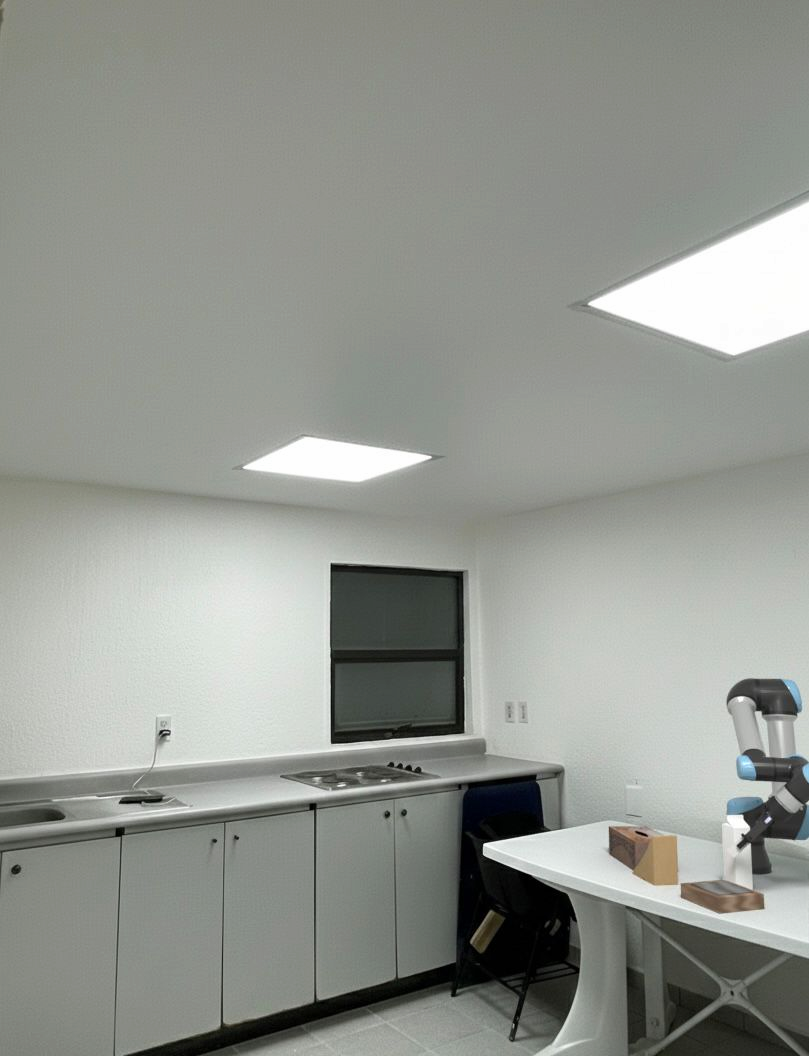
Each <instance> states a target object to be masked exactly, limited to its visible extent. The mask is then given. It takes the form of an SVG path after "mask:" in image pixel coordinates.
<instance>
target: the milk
mask: <svg viewBox="0 0 809 1056" xmlns="http://www.w3.org/2000/svg"><path fill="white" fill-rule="evenodd" d="M726 819H727V820H725V821H724V822H723V823H721V839H722V840H721V841H722V842H721V844H722V847H721V848H722V865H723V867H722V868H723V880H726V881H729V882H732V883H735V884H738V885H740V886H743V887H746V888H749V889H751V890H754V888H753V886H754V885H753V881H754V880H753V874H752V860H751V843H750V844H749V845H748V846H747V847H745V848H744V849H743V850H742V851H741V852H740V853H739V854H738V855H737V856H736V857H733V856H732V855H731V854H730V853H729V852H728V851H727V850H728V849H729V848H730V847H731V846H732V845H733V844H734V843H736V842H737V841H738V840H739V839H740V838H741V837H742V836H741V834H742V833H743V834H744V835H745V834H746V833H747V832H748V831H749V830H750V827H749V825H748V824H747V823H746V822H745V821H744V820H743V815H726Z"/></svg>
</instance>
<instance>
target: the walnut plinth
mask: <svg viewBox="0 0 809 1056" xmlns="http://www.w3.org/2000/svg"><path fill="white" fill-rule="evenodd" d="M764 895H765V894H764V893H762V892H759V891H756V890H754V889H753V890H751V889H749V888H746V887H743V886H740V885H738V884H735V883H732V882H729V881H726V880H724V879H717V880H714V879H713V880H703V881H693V882H680V898H681V899H684V900H686V901H689V902H691V903H693V904H696V905H697V906H700V907H703V908H704V909H707V910H710V911H712V912H714V913H717V914H725V913H727V914H729V913H736V912H737V913H738V912H745V911H746V912H747V911H755V910H757V911H758V910H764V909H765V896H764Z"/></svg>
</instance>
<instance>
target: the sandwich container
mask: <svg viewBox="0 0 809 1056" xmlns="http://www.w3.org/2000/svg"><path fill="white" fill-rule="evenodd" d="M677 857H678V837H677V835H675V834H674V835H673V834H672V835H671V834H667V835H666V834H663V835H662V836H652V838H651V841H650V842H649V844H648V846H647V848H646V850H645V852H644V854H643V855H642V857H641V859H640V861H639V863H638V864H637V866H636V868H635V869H634V871H633V870H632V873H631V874H632V875H634V876H636V877H637V878H640V879H641V880H642V881H644V882H647V883H649V884H651V885H652V886H678V885H679V878H678V877H679V875H678V873H679V867H678V868H677Z"/></svg>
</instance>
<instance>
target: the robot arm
mask: <svg viewBox="0 0 809 1056" xmlns="http://www.w3.org/2000/svg"><path fill="white" fill-rule="evenodd" d="M800 692H801V691H800V690H799V687H798V684H797V683H796V682H795V681H794V680H792V679H785V678H753V677H751V678H744V679H742V680H739V681H737V682H736V683H735V684H734V685H733V686H732V687H731V688H730V689H729V691H728V694H727V696H726V702H725V703H726V709H727V712H728V714H730V715H729V716H731V717H732V722H733V726H734V731H735V736H736V739H737V744H738V749H739V753H740V755H738V756H737V757H736V762H735V763H736V767H735V768H736V775H737V777H738V778H739V779H740V780H742V781H750V782H769V783H770V782H771V789H772V790H771V791H772V792H771V793H770V794H769V795H768V797H767V800H766V801H764V800H763V798H762V797H759V796H739V797H733V798H730V799H729V800H728V801H727V803H726V812H725V814H726V816H727V815H743V820H744V821H745V822H746V823H747V824H748V825H749V827H750V830H749V831H748V832H747V833H746V834H745V835H744V834H743V833H742V834H741V836H742V837H741V838H740V839H739V840H738V841H737V842H736V843H734V844H733V845H732V846H731V847H730V848H729V849H728V850H727V851H728V852H729V853H730V854H731V855H732V856H733V857H736V856H737V855H738V854H739V853H740V852H741V851H742V850H743V849H744V848H745V847H747V846H748V845H749V844H750V843H751V860H752V875H753V874H754V875H763V874H769V873H772V871H773V870H772V862H771V861H770V857H769V855H768V852H767V849H766V844H765V839H775V840H789V841H790V840H791V841H806V840H808V839H809V804H807V803H808V802H809V760H808V759H806V758H805V757H804V756H803V755H802V754H801V755H800V754H797V749H796V747H797V746H796V737H795V727H794V724H795V723H794V722H795V721H796V720H797V719H798V714H800V713H801V712H802V711H803V702H802V701H803V700H802V697H801V693H800ZM756 712H761V718H763V720H764V721H766V727H767V738H768V739H767V740H768V752H769V756H767V755H766V751H765V747H764V744H763V743H764V742H763V739H762V736H761V731H760V728H759V724H758V723H759V722H758V721H757V717H756Z"/></svg>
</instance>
